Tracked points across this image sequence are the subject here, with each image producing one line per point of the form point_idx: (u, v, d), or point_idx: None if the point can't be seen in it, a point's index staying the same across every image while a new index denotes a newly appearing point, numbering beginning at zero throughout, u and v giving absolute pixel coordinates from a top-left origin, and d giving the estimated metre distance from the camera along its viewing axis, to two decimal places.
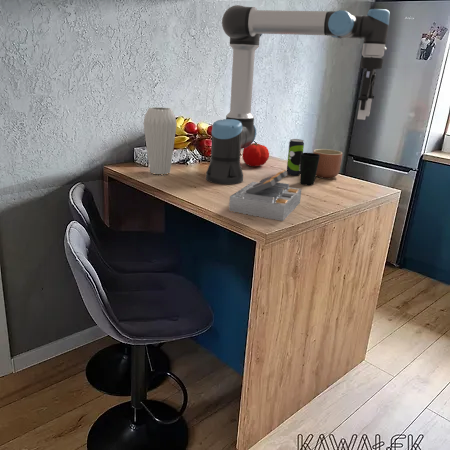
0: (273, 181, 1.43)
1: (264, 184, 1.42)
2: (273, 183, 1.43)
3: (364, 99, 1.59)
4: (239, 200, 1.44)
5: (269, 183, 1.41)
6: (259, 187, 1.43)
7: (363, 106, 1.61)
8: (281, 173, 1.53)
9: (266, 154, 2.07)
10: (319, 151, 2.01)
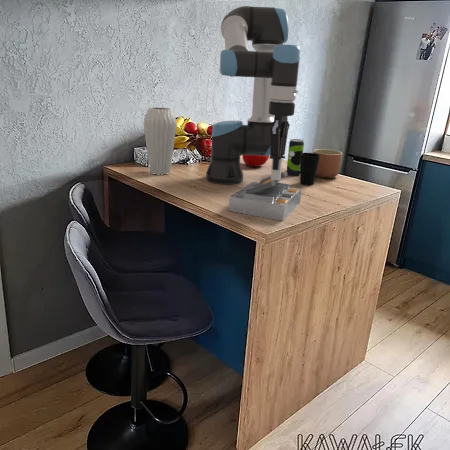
0: (273, 181, 1.43)
1: (264, 184, 1.42)
2: (273, 183, 1.43)
3: (275, 158, 1.37)
4: (239, 200, 1.44)
5: (269, 183, 1.41)
6: (259, 187, 1.43)
7: (276, 165, 1.39)
8: (281, 173, 1.53)
9: None
10: (319, 151, 2.01)
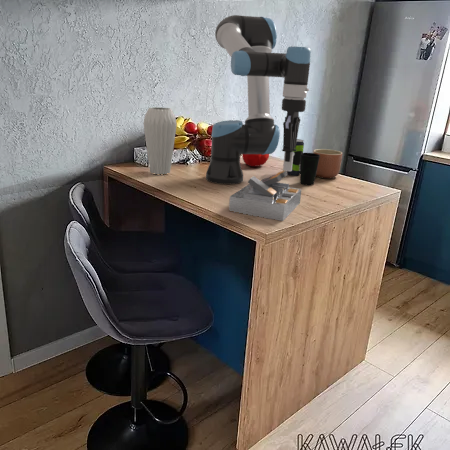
0: (274, 194, 1.44)
1: (267, 191, 1.42)
2: (272, 196, 1.44)
3: (287, 150, 1.49)
4: (239, 200, 1.44)
5: (270, 195, 1.42)
6: (261, 188, 1.43)
7: (288, 158, 1.51)
8: (281, 173, 1.53)
9: (266, 154, 2.07)
10: (319, 151, 2.01)
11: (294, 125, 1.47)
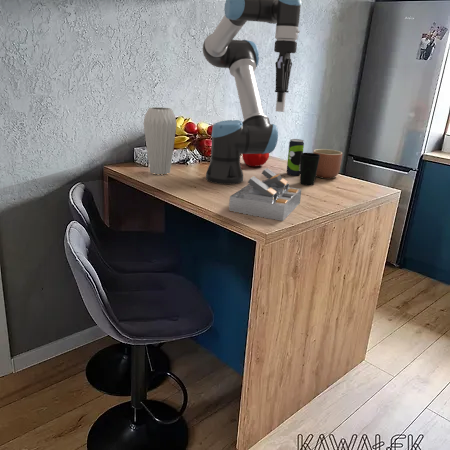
0: (274, 194, 1.44)
1: (267, 191, 1.42)
2: (272, 196, 1.44)
3: (280, 90, 1.58)
4: (239, 200, 1.44)
5: (270, 195, 1.42)
6: (261, 188, 1.43)
7: (280, 98, 1.60)
8: (283, 184, 1.54)
9: (266, 154, 2.07)
10: (319, 151, 2.01)
11: (286, 66, 1.56)
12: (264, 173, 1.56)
